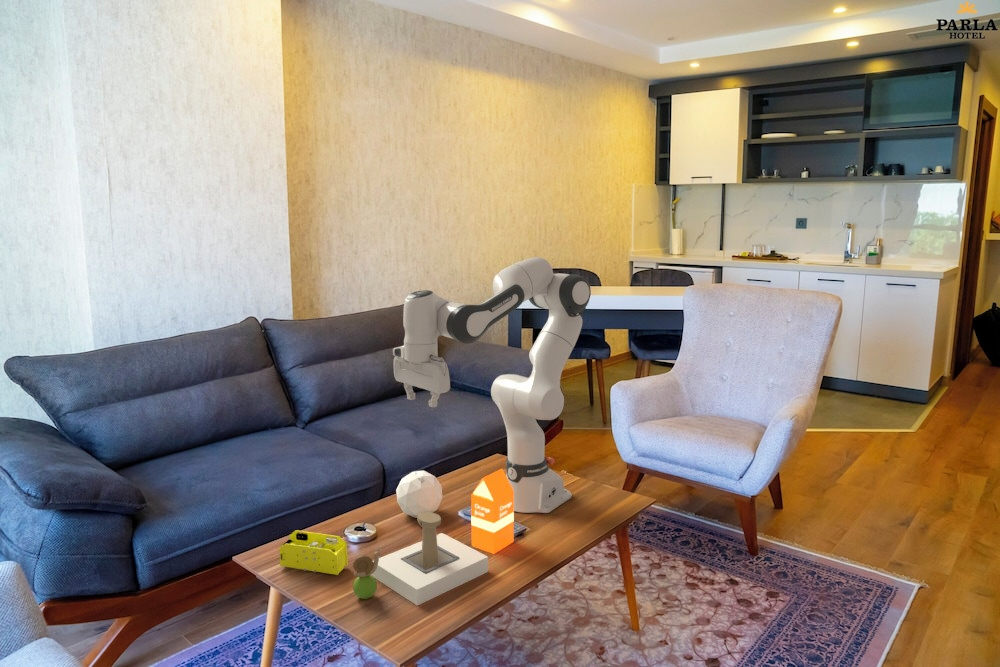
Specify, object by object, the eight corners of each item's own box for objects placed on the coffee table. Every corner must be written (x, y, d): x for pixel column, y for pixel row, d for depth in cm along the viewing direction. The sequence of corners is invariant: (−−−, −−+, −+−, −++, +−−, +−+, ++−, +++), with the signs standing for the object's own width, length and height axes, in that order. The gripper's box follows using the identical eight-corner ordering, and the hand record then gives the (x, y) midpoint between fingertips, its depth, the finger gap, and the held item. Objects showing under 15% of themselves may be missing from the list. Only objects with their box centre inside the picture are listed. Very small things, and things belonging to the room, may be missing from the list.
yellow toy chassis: (348, 567, 182) (347, 536, 181) (337, 578, 177) (336, 546, 175) (292, 558, 186) (290, 528, 185) (279, 569, 181) (277, 538, 179)
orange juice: (471, 545, 193) (470, 474, 189) (491, 533, 200) (491, 464, 196) (494, 554, 188) (494, 481, 185) (514, 541, 195) (514, 471, 192)
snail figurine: (383, 600, 167) (381, 552, 165) (354, 605, 165) (352, 556, 163) (380, 588, 172) (378, 541, 170) (352, 592, 170) (350, 545, 168)
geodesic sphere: (457, 503, 206) (443, 458, 211) (413, 514, 199) (399, 467, 204) (439, 517, 217) (426, 474, 222) (397, 528, 210) (384, 483, 215)
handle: (430, 582, 174) (428, 524, 172) (414, 572, 179) (413, 515, 176) (446, 575, 178) (445, 518, 175) (430, 566, 182) (429, 510, 180)
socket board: (442, 546, 192) (441, 531, 192) (488, 571, 180) (488, 555, 179) (372, 576, 177) (371, 560, 177) (417, 605, 165) (416, 588, 164)
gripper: (455, 356, 186) (456, 408, 189) (407, 345, 201) (408, 393, 203) (436, 360, 182) (437, 413, 184) (388, 348, 196) (390, 397, 199)
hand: (421, 403), depth 194 cm, fingers open, 8 cm apart
